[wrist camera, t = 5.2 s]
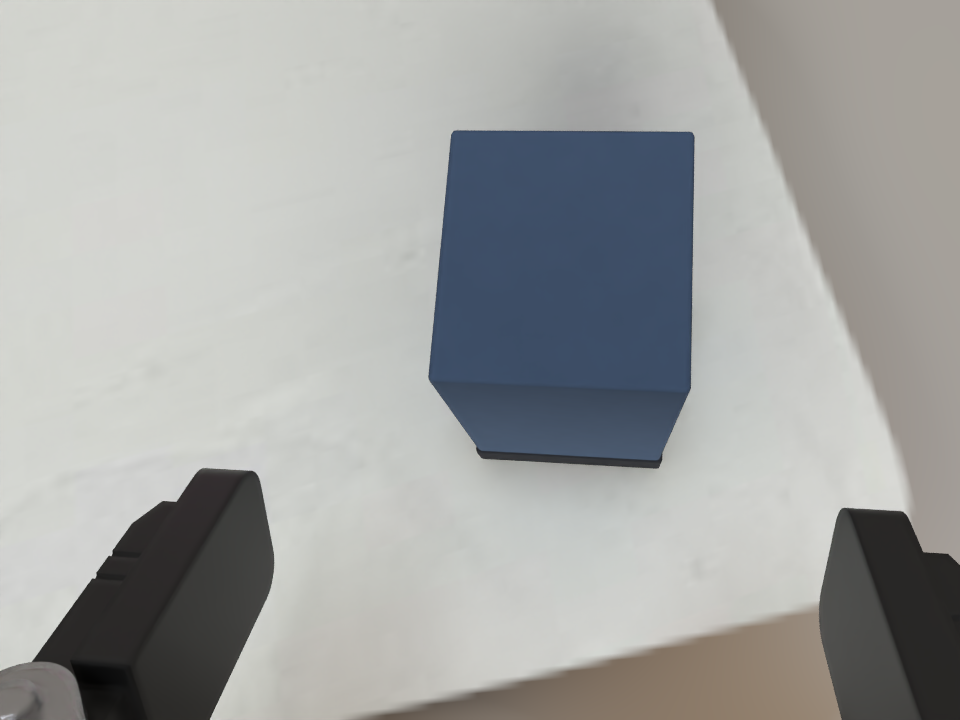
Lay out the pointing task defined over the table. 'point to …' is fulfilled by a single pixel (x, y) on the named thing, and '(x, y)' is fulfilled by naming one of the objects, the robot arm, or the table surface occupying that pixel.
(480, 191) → the blue rectangular block
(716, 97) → the table surface
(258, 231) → the table surface
